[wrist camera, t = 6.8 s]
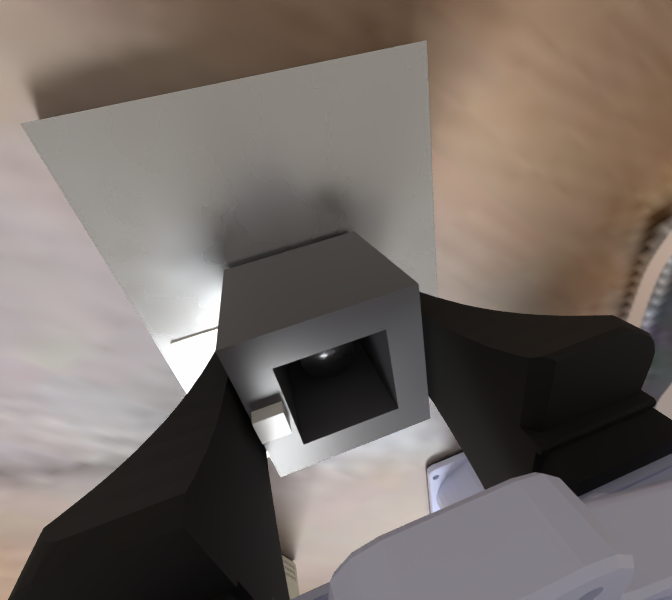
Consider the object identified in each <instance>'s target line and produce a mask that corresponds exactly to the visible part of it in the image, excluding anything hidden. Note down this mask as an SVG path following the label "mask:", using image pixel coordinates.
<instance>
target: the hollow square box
mask: <svg viewBox="0 0 672 600" xmlns="http://www.w3.org/2000/svg"><path fill="white" fill-rule="evenodd" d="M351 341H352V343H353V345H354V356H353V359H352V361H351V363H350V364H349V365H348V367H347V368H346V369H344V370H343V371H342V372H340V373H339V374H337V375H334V376H331V377H326V378H319V377H314V376H312V375H310V374H308V373H307V372H306V371H305V370H304V369H303V367H302V365H301V362H300V359H302V358H305V357H308V356H311V355H314V354H316V353H319V352H322V351H325V350H328V349H331V348H334V347H337V346H340V345H342V344H345V343H348V342H351ZM215 351H216V353H217V355H218V357H219V359H220V361H221V363H222V365H223V367H224V369H225V371H226V373H227V375H228V377H229V379H230V380H231V382H232V384H233V386H234V388H235V390H236V392H237V394H238V396H239V398H240V400H241V402H242V404H243V406H244V408H245V410H246V411H247V413H248V415H249V417H250V419H251V421H252V425H253V427H254V429H255V431H256V433H257V435H258V437H259V439H260V441H261V443H262V444H264V446H265V448H266V450H267V452H268V454H269V456H270V458H271V460H272V462H273V464H274V466H275V468H276V470H277V472H278V473H279V475H280V477H283V476H285V475H288V474H290V473H293V472H295V471H298V470H300V469H303V468H305V467H308V466H311V465H313V464H316V463H318V462H321V461H323V460H326V459H328V458H331V457H333V456H336V455H338V454H341V453H344V452H346V451H349V450H351V449H354V448H356V447H359V446H361V445H364V444H366V443H369V442H371V441H374V440H377V439H379V438H382V437H384V436H387V435H389V434H392V433H394V432H397V431H399V430H402V429H404V428H407V427H409V426H412V425H415V424H417V423H420V422H422V421H425V420H427V419H430V410H429V398H428V387H427V375H426V363H425V352H424V340H423V328H422V316H421V305H420V293H419V284H418V283H417V282H416V281H415V280H414V279H412V278H411V277H410V276H409V275H407V274H406V273H405V272H404V271H403V270H401V269H400V268H399V267H398V266H396V265H395V264H394V263H393V262H391V261H390V260H389V259H388V258H387V257H385V256H384V255H383V254H382V253H380V252H379V251H378V250H377V249H376V248H374V247H373V246H372V245H371V244H369V243H368V242H367V241H366V240H364V239H363V238H362V237H361V236H360V235H358V234H357V233H356V232H355V231H354V232H350V233H347V234H343V235H340V236H337V237H333V238H330V239H327V240H323V241H320V242H317V243H313V244H310V245H306V246H303V247H300V248H296V249H293V250H290V251H286V252H283V253H280V254H276V255H273V256H269V257H266V258H263V259H259V260H256V261H253V262H249V263H246V264H243V265H239V266H236V267H232V268H229V269H226V270H224V274H223V283H222V293H221V302H220V311H219V320H218V330H217V339H216V348H215Z"/></svg>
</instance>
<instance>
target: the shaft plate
mask: <svg viewBox="0 0 672 600" xmlns="http://www.w3.org/2000/svg"><path fill="white" fill-rule="evenodd" d="M21 126H22V127H23V129H24V131H25V132H26V134H27V135H28V137H29V139H30V140H31V142H32V144H33V145H34V147H35V148H36V150H37V152H38V153H39V155H40V157H41V158H42V160H43V161H44V163H45V165H46V166H47V168H48V170H49V171H50V173H51V174H52V176H53V178H54V179H55V181H56V182H57V184H58V186H59V187H60V189H61V191H62V192H63V194H64V195H65V197H66V199H67V200H68V202H69V204H70V205H71V207H72V208H73V210H74V212H75V213H76V215H77V217H78V218H79V220H80V221H81V223H82V225H83V226H84V228H85V230H86V231H87V233H88V234H89V236H90V238H91V239H92V241H93V243H94V244H95V246H96V247H97V249H98V251H99V252H100V254H101V256H102V257H103V259H104V260H105V262H106V264H107V265H108V267H109V268H110V270H111V272H112V273H113V275H114V277H115V278H116V280H117V281H118V283H119V285H120V286H121V288H122V290H123V291H124V293H125V294H126V296H127V298H128V299H129V301H130V303H131V304H132V306H133V307H134V309H135V311H136V312H137V314H138V316H139V317H140V319H141V320H142V322H143V324H144V325H145V327H146V329H147V330H148V332H149V333H150V335H151V337H152V338H153V340H154V341H155V343H156V345H157V346H158V348H159V350H160V351H161V353H162V354H163V356H164V358H165V359H166V361H167V363H168V364H169V366H170V367H171V369H172V371H173V372H174V374H175V376H176V377H177V379H178V380H179V382H180V384H181V385H182V387H183V389H184V390H185V392H186V393H188V392H189V390H190V389H191V387H192V386H193V385H194V383H195V382H196V380H197V379H198V377H199V376H200V374H201V373H202V371H203V370H204V368H205V367H206V365H207V363H208V362H209V360H210V359H211V357H212V355H213V353H214V352H215V348H216V339H217V330H218V320H219V311H220V302H221V293H222V283H223V274H224V270H226V269H229V268H232V267H236V266H239V265H243V264H246V263H249V262H253V261H256V260H259V259H263V258H266V257H269V256H273V255H276V254H280V253H283V252H286V251H290V250H293V249H296V248H300V247H303V246H306V245H310V244H313V243H317V242H320V241H323V240H327V239H330V238H333V237H337V236H340V235H343V234H347V233H350V232H354V231H355V232H356V233H357V234H358V235H360V236H361V237H362V238H363V239H364V240H366V241H367V242H368V243H369V244H371V245H372V246H373V247H374V248H376V249H377V250H378V251H379V252H380V253H382V254H383V255H384V256H385V257H387V258H388V259H389V260H390V261H391V262H393V263H394V264H395V265H396V266H398V267H399V268H400V269H401V270H403V271H404V272H405V273H406V274H407V275H409V276H410V277H411V278H412V279H414V280H415V281H416V282H417V283H418V284H419V292H422V293H425V294H428V295H431V296H435V297H438V295H437V272H436V248H435V224H434V200H433V176H432V153H431V129H430V105H429V81H428V58H427V40H425V41H420V42H415V43H410V44H406V45H401V46H396V47H391V48H386V49H381V50H376V51H372V52H367V53H362V54H357V55H352V56H347V57H342V58H338V59H333V60H328V61H323V62H318V63H313V64H308V65H303V66H299V67H294V68H289V69H284V70H279V71H274V72H269V73H265V74H260V75H255V76H250V77H245V78H240V79H235V80H231V81H226V82H221V83H216V84H211V85H206V86H201V87H196V88H192V89H187V90H182V91H177V92H172V93H167V94H162V95H158V96H153V97H148V98H143V99H138V100H133V101H128V102H124V103H119V104H114V105H109V106H104V107H99V108H94V109H89V110H85V111H80V112H75V113H70V114H65V115H60V116H55V117H51V118H46V119H41V120H36V121H31V122H26V123H21ZM353 356H354V345H353V343H352V341H351V342H348V343H345V344H342V345H340V346H337V347H334V348H331V349H328V350H325V351H322V352H319V353H316V354H314V355H311V356H308V357H305V358H302V359H300V362H301V365H302V367H303V369H304V370H305V371H306V372H307V373H308V374H310V375H312V376H314V377H319V378H326V377H331V376H334V375H337V374H339V373H340V372H342V371H343V370H344V369H346V368H347V367H348V365H349V364H350V363H351V361H352V359H353ZM267 457H270V456H269V454H268V452H267Z"/></svg>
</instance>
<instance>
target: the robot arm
mask: <svg viewBox="0 0 672 600" xmlns="http://www.w3.org/2000/svg"><path fill="white" fill-rule="evenodd" d="M419 293H420V305H421V316H422V328H423V340H424V352H425V363H426V375H427V387H428V396H429V397H430V398H431V400H432V401H433V403H434V404H435V406H436V407H437V409H438V411H439V412H440V414H441V415H442V417H443V419H444V420H445V422H446V423H447V425H448V427H449V428H450V430H451V432H452V433H453V435H454V437H455V438H456V440H457V442H458V443H459V445H460V447H461V448H462V450H463V452H462V453H460V454H457V455H455V456H452V457H450V458H447V459H445V460H443V461H440V462H438V463H435V464H433V465H431V466H430V467H428V469H427V479H428V490H429V501H430V512H431V514H429V515H427V516H424V517H422V518H420V519H417V520H415V521H413V522H411V523H408V524H406V525H404V526H401V527H399V528H397V529H395V530H392V531H390V532H388V533H385V534H383V535H381V536H379V537H377V538H375V539H374V540H372V541H370V542H369V543H367V544H365V545H364V546H362V547H360V548H359V549H357V550H355V551H354V552H352V553H351V554H350V555H349V556H348V557H347V559H346V560H345V561H344V562H343V563H342V564H341V565H340V566H339V568H338V569H337V570H336V571H335V572H334V574H333V576H332V578H331V580H330V582H329V583H326V584H324V585H322V586H320V587H317V588H315V589H313V590H311V591H308V592H306V593H304V594H302V595H300V596H297V597H295V598H293V599H291V600H672V420H671V419H669V418H668V417H666V416H665V415H663V414H662V413H660V412H659V411H657V410H656V409H654V408H653V406H655V404H656V400H655V399H654V398H653V397H651V396H650V395H648V394H647V393H645V392H643V391H642V390H641V388H642V386H643V383H644V381H645V378H646V376H647V373H648V371H649V368H650V366H651V363H652V360H653V357H654V353H655V349H654V340H653V339H652V337H651V335H650V333H648V332H646V331H644V330H642V329H640V328H638V327H635V326H634V325H632V324H630V323H628V322H626V321H624V320H622V319H620V318H618V317H615V316H613V315H599V316H551V315H532V314H520V313H511V312H502V311H495V310H489V309H483V308H478V307H473V306H468V305H463V304H459V303H456V302H452V301H448V300H445V299H441V298H438V297H435V296H431V295H428V294H425V293H422V292H419ZM8 600H290V597H289V591H288V586H287V581H286V575H285V570H284V565H283V559H282V553H281V547H280V542H279V536H278V530H277V524H276V518H275V511H274V505H273V499H272V492H271V485H270V478H269V471H268V463H267V450H266V448H265V446H264V444H262V443H261V441H260V439H259V437H258V435H257V433H256V431H255V429H254V427H253V425H252V421H251V419H250V417H249V415H248V413H247V411H246V410H245V408H244V406H243V404H242V402H241V400H240V398H239V396H238V394H237V392H236V390H235V388H234V386H233V384H232V382H231V380H230V379H229V377H228V375H227V373H226V371H225V369H224V367H223V365H222V363H221V361H220V359H219V357H218V355H217V353H216V351H215V352H214V353H213V355H212V357H211V359H210V360H209V362H208V363H207V365H206V367H205V368H204V370H203V371H202V373H201V374H200V376H199V377H198V379H197V380H196V382H195V383H194V385H193V386H192V387H191V389H190V390H189V392H188V393H187V395H186V396H185V397H184V399H183V400H182V401H181V402H180V404H179V405H178V406H177V407H176V409H175V410H174V411H173V412H172V413H171V414H170V416H169V417H168V418H167V419H166V420H165V421H164V423H163V424H162V425H161V426H160V427H159V428H158V429H157V430H156V431H155V432H154V433H153V434H152V435H151V436H150V437H149V438H148V439H147V440H146V441H145V442H144V443H143V444H142V445H141V446H140V447H139V448H138V450H136V451H135V452H134V453H133V454H132V455H131V456H130V457H129V458H128V459H127V460H126V461H125V462H124V463H123V464H121V465H120V466H119V467H118V468H117V469H116V470H115V471H114V472H112V473H111V474H110V475H109V476H108V477H107V478H106V479H105V480H103V481H102V482H101V483H100V484H99V485H97V486H96V487H95V488H94V489H93V490H92V491H90V492H89V493H88V494H86V495H85V496H84V497H83V498H81V499H80V500H79V501H78V502H76V503H75V504H74V505H73V506H71V507H70V508H69V509H68V510H66V511H65V512H64V513H62V514H61V515H60V516H59V517H57V518H56V519H55V520H54V521H52V522H51V523H50V524H48V525H47V526H46V527H44V528H43V530H42V532H41V534H40V536H39V538H38V540H37V542H36V544H35V546H34V548H33V550H32V552H31V554H30V556H29V558H28V560H27V562H26V564H25V566H24V568H23V570H22V572H21V574H20V576H19V578H18V580H17V582H16V584H15V586H14V589H13V591H12V593H11V595H10V597H9V599H8Z"/></svg>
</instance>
